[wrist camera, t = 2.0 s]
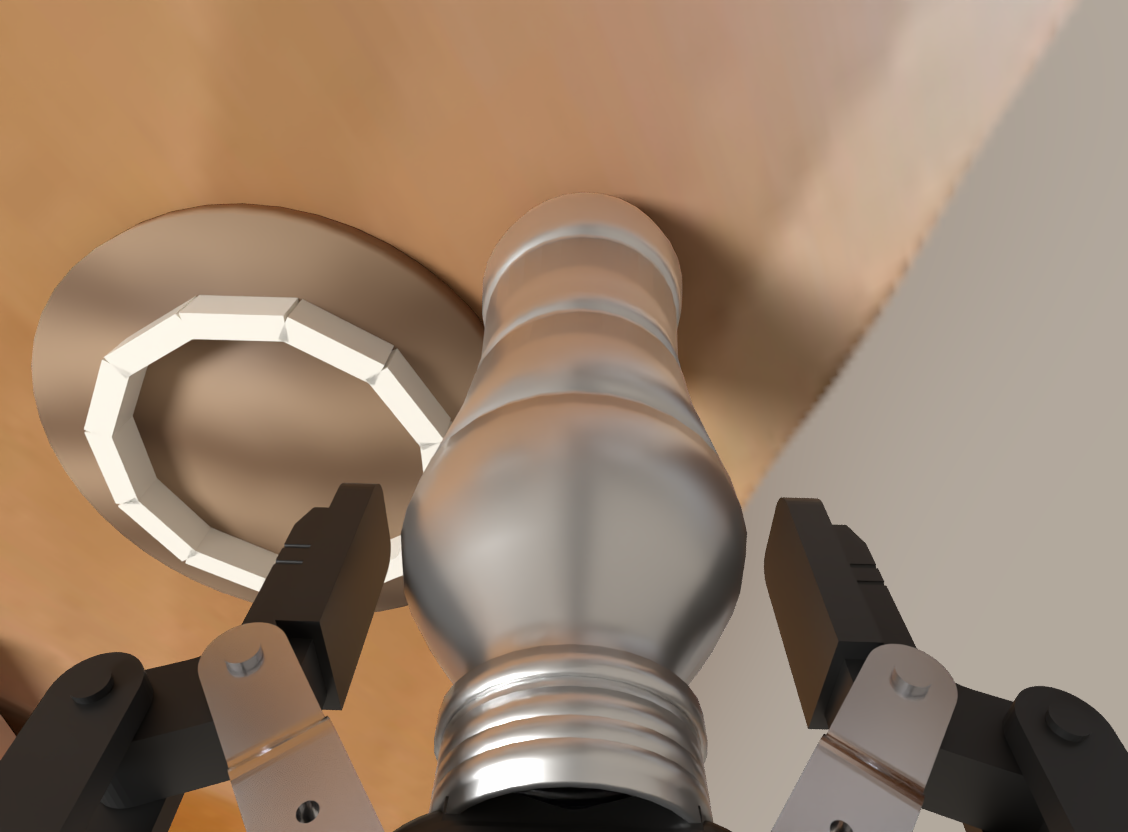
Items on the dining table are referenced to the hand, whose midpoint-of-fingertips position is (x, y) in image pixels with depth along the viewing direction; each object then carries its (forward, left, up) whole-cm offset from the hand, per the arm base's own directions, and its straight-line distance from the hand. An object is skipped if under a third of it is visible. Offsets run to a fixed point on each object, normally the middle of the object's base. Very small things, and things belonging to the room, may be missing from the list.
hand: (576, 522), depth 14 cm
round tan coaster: (+8, -12, -14) cm, 20 cm away
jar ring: (+8, -12, -12) cm, 19 cm away
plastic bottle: (0, 0, -14) cm, 14 cm away
